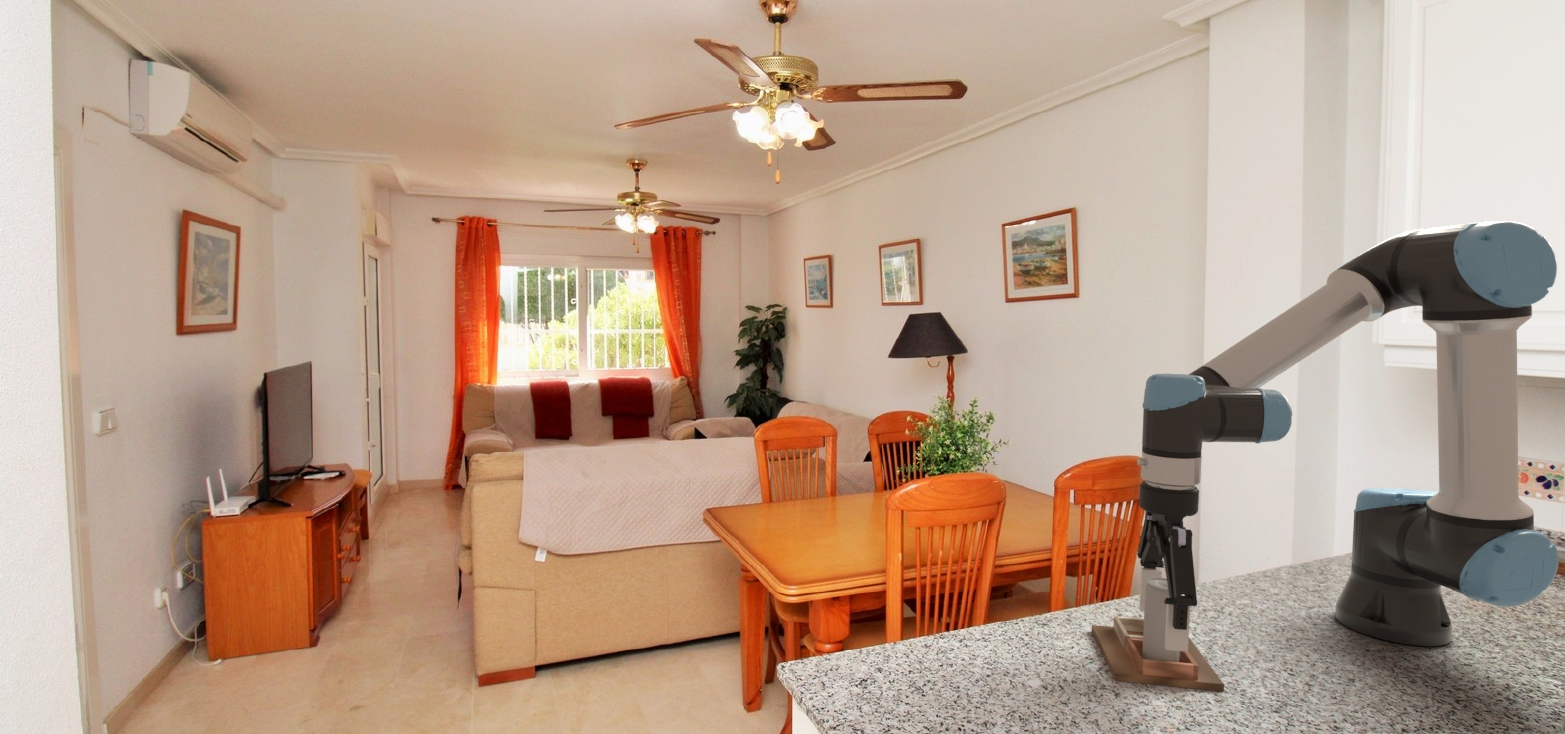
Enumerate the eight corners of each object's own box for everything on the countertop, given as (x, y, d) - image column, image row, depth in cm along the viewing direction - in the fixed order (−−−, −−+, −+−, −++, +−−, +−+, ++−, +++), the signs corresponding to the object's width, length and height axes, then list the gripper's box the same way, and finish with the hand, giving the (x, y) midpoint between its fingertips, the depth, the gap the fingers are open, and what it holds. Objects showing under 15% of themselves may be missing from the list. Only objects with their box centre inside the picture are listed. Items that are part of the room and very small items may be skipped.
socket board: (1185, 639, 123) (1186, 620, 123) (1223, 691, 106) (1224, 669, 106) (1091, 631, 126) (1092, 613, 126) (1114, 680, 109) (1115, 659, 109)
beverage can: (1173, 658, 114) (1177, 578, 113) (1183, 673, 109) (1187, 590, 108) (1138, 655, 115) (1142, 576, 114) (1146, 670, 110) (1150, 588, 109)
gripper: (1120, 464, 123) (1114, 595, 125) (1165, 503, 98) (1157, 665, 100) (1172, 466, 121) (1165, 599, 123) (1230, 507, 97) (1221, 671, 99)
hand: (1161, 629), depth 112 cm, fingers open, 13 cm apart
